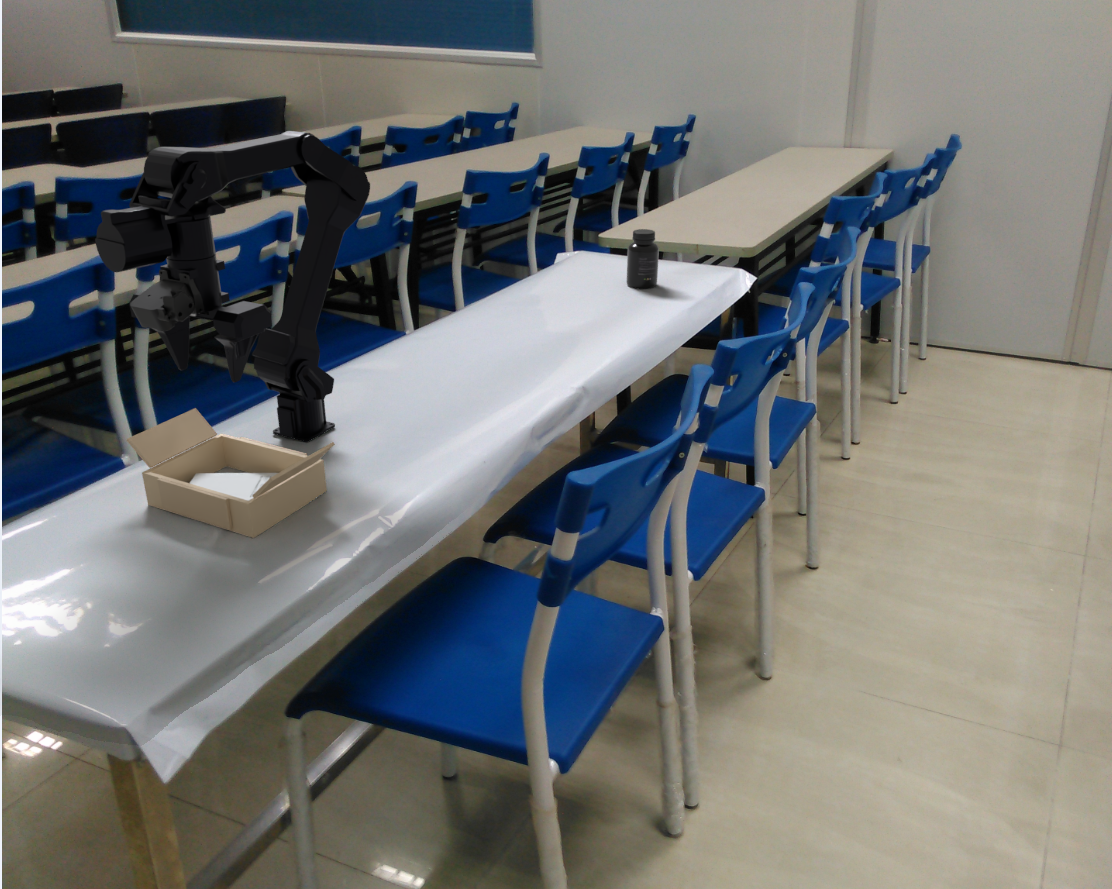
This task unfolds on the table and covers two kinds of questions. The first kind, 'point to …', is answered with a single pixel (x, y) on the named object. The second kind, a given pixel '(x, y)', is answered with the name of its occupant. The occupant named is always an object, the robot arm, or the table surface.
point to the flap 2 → (293, 470)
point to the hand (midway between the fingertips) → (209, 375)
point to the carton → (245, 517)
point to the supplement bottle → (642, 260)
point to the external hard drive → (233, 483)
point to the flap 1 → (171, 437)
